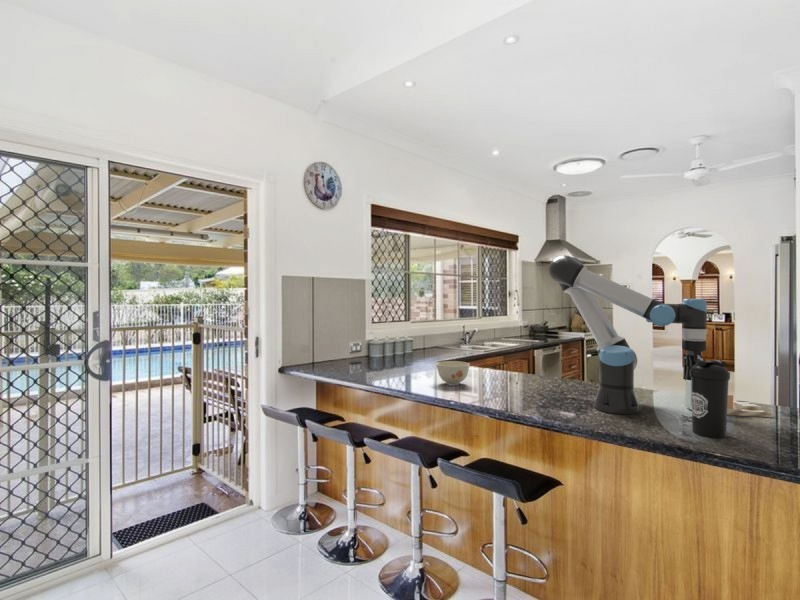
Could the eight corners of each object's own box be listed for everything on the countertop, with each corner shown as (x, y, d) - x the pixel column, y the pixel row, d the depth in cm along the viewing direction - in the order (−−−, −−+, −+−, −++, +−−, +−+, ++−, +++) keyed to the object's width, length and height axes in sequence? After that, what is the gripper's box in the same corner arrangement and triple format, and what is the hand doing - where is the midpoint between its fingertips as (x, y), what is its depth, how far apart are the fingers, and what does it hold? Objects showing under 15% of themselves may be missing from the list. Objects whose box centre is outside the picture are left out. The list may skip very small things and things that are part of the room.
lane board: (705, 413, 155) (705, 408, 155) (687, 402, 171) (687, 398, 170) (773, 417, 150) (773, 412, 150) (748, 405, 165) (748, 401, 165)
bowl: (435, 387, 200) (435, 366, 199) (437, 380, 215) (437, 360, 215) (469, 388, 197) (469, 367, 197) (469, 381, 213) (469, 361, 212)
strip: (691, 409, 157) (691, 382, 157) (684, 405, 163) (685, 379, 163) (741, 412, 153) (742, 385, 153) (733, 408, 159) (733, 381, 159)
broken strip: (709, 406, 162) (709, 403, 162) (702, 402, 168) (702, 399, 168) (759, 409, 159) (759, 406, 158) (750, 404, 164) (750, 402, 164)
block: (717, 408, 155) (717, 394, 155) (710, 404, 160) (711, 391, 160) (733, 409, 154) (733, 395, 154) (726, 405, 159) (726, 392, 159)
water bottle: (681, 429, 138) (682, 358, 137) (711, 428, 139) (711, 357, 138) (706, 439, 128) (707, 363, 127) (738, 438, 128) (739, 363, 128)
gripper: (717, 343, 149) (716, 408, 150) (695, 337, 167) (694, 396, 167) (692, 342, 151) (692, 407, 152) (673, 337, 169) (672, 395, 169)
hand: (693, 401), depth 159 cm, fingers closed on strip, 5 cm apart
